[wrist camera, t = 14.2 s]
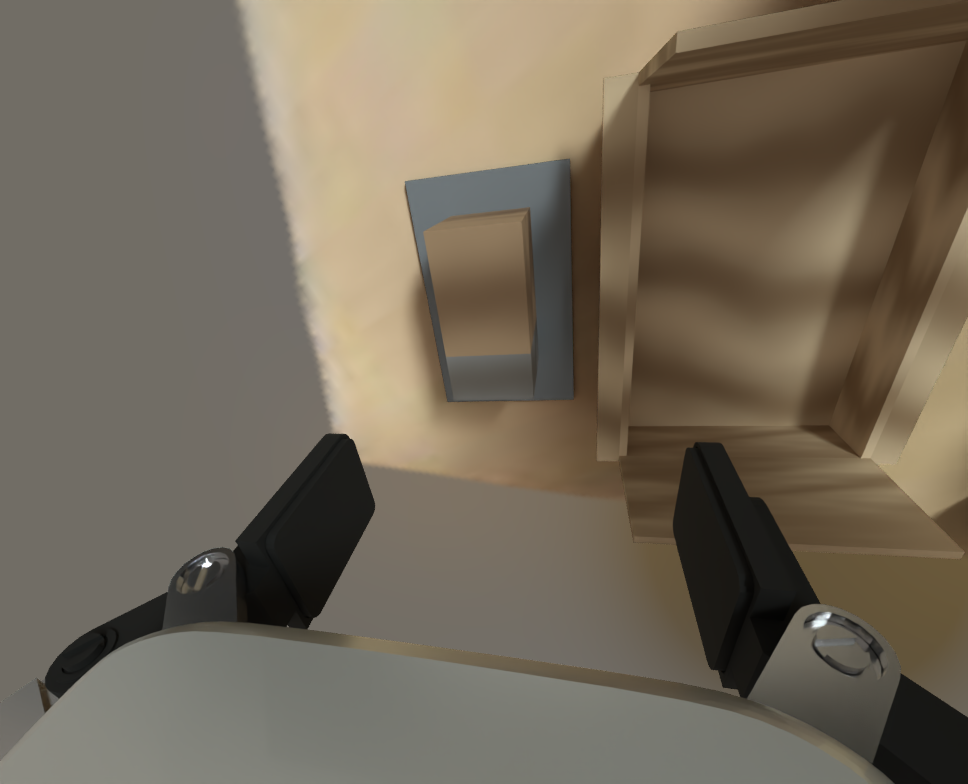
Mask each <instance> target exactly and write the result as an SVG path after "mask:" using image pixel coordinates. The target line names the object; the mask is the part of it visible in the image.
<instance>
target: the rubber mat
mask: <svg viewBox="0 0 968 784" xmlns="http://www.w3.org/2000/svg"><path fill="white" fill-rule="evenodd" d="M405 185H406V190H407V195H408V201H409V206H410V211H411V216H412V221H413V226H414V231H415V237H416V242H417V247H418V252H419V257H420V262H421V268H422V273H423V278H424V283H425V288H426V293H427V298H428V304H429V309H430V314H431V319H432V324H433V329H434V334H435V340H436V345H437V350H438V355H439V360H440V365H441V370H442V376H443V381H444V386H445V391H446V396H447V401H448V402H466V401H522V400H574V391H573V327H572V263H571V199H570V159H564V160H557V161H549V162H542V163H535V164H528V165H520V166H513V167H506V168H499V169H491V170H484V171H477V172H469V173H462V174H455V175H448V176H440V177H433V178H426V179H419V180H411V181H405ZM527 207H530V213H531V231H532V248H533V265H534V282H535V299H536V316H537V333H538V351H539V359H538V368H537V376H536V385H535V393H534V399H501V400H454V398H453V393H452V387H451V382H450V376H449V371H448V365H447V360H446V354H445V349H444V343H443V338H442V332H441V327H440V321H439V316H438V311H437V305H436V300H435V294H434V289H433V283H432V278H431V272H430V267H429V261H428V256H427V250H426V245H425V239H424V234H423V232H424V231H425V230H427V229H429V228H431V227H433V226H434V225H436V224H438V223H440V222H441V221H443V220H445V219H447V218H449V217H450V216H457V215H465V214H474V213H483V212H492V211H501V210H510V209H519V208H527Z"/></svg>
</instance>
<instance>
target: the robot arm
mask: <svg viewBox="0 0 968 784" xmlns="http://www.w3.org/2000/svg"><path fill="white" fill-rule="evenodd" d="M374 510H375V502H374V499H373V496H372V493H371V490H370V487H369V484H368V481H367V478H366V475H365V472H364V469H363V466H362V463H361V460H360V457H359V455H358V452H357V449H356V446H355V443H354V441H353V440H352V439H350V438H349V436H348V435H346V434H326V435H325V436H324V437H323V438H322V439H321V440H320V441H319V442H318V444H317V445H316V446H315V447H314V448H313V450H312V451H311V452H310V453H309V454H308V456H307V457H306V458H305V459H304V460H303V461H302V463H301V464H300V465H299V466H298V467H297V469H296V470H295V471H294V472H293V473H292V474H291V476H290V477H289V478H288V479H287V480H286V482H285V483H284V484H283V485H282V486H281V488H280V489H279V490H278V491H277V492H276V493H275V495H274V496H273V497H272V498H271V499H270V501H269V502H268V503H267V504H266V505H265V506H264V508H263V509H262V510H261V511H260V512H259V513H258V515H257V516H256V517H255V518H254V519H253V521H252V522H251V523H250V524H249V525H248V526H247V528H246V529H245V530H244V531H243V533H242V534H241V535H240V536H239V537H238V539H237V540H236V543H237V544H238V546H237V547H236V548H235V550H234V551H232V550H231V549H229V548H224V547H221V548H213V549H210V550H207V551H204V552H202V553H200V554H198V555H197V556H195V557H193V558H192V559H190V560H189V561H188V562H186V563H185V564H184V565H183V566H182V567H181V568H180V569H179V570H178V571H177V572H176V573H175V575H174V576H173V578H172V579H171V582H170V585H169V587H168V592H166V593H165V594H162V595H161V596H159V597H156V598H154V599H152V600H151V601H149V602H147V603H145V604H143V605H141V606H139V607H137V608H135V609H133V610H131V611H129V612H127V613H125V614H123V615H121V616H119V617H117V618H115V619H113V620H111V621H109V622H107V623H105V624H103V625H101V626H99V627H97V628H95V629H93V630H91V631H89V632H88V633H86V634H84V635H83V636H81V637H79V638H78V639H77V640H75V641H74V642H73V643H72V644H71V645H69V646H68V647H67V648H66V649H65V650H64V651H63V652H62V653H61V654H60V655H59V656H58V657H57V658H56V660H55V661H54V662H53V664H52V665H51V666H50V668H49V670H48V673H47V675H46V677H45V679H44V680H43V681H40V680H39V679H38V678H35V679H34V680H32V681H31V682H29V683H28V684H26V685H25V686H23V687H22V688H21V689H19V690H18V691H16V692H15V693H13V694H12V695H10V696H9V697H7V698H6V699H4V700H3V701H2V702H0V784H968V717H966V716H965V715H963V714H962V713H960V712H959V711H957V710H956V709H954V708H953V707H951V706H949V705H948V704H947V703H945V702H944V701H942V700H941V699H939V698H937V697H936V696H934V695H933V694H931V693H930V692H928V691H927V690H925V689H924V688H922V687H921V686H919V685H918V684H916V683H915V682H913V681H912V680H910V679H909V678H907V677H906V676H904V675H902V674H901V673H900V672H901V671H900V670H901V666H900V663H899V661H898V658H897V655H896V653H895V651H894V650H893V649H892V647H891V646H890V644H889V643H888V642H887V640H886V639H885V638H884V637H883V636H882V635H881V634H880V633H879V632H878V631H877V630H875V629H874V628H873V627H872V626H871V625H869V624H868V623H866V622H865V621H864V620H862V619H860V618H859V617H858V616H856V615H854V614H852V613H849V612H847V611H845V610H843V609H841V608H837V607H833V606H830V605H826V604H820V602H819V600H818V598H817V596H816V594H815V593H814V591H813V589H812V587H811V585H810V584H809V582H808V580H807V578H806V576H805V574H804V573H803V571H802V569H801V567H800V565H799V563H798V561H797V560H796V558H795V556H794V554H793V552H792V550H791V549H790V547H789V545H788V543H787V541H786V539H785V538H784V536H783V534H782V532H781V530H780V528H779V527H778V525H777V523H776V521H775V519H774V517H773V515H772V514H771V512H770V510H769V508H768V506H767V505H766V503H765V502H764V500H762V499H761V498H760V497H749V495H748V493H747V491H746V490H745V488H744V486H743V484H742V482H741V480H740V478H739V476H738V474H737V472H736V470H735V468H734V466H733V464H732V462H731V460H730V458H729V456H728V454H727V452H726V450H725V448H724V446H723V445H722V443H719V442H696V443H695V444H694V446H693V448H689V447H688V448H686V451H685V456H684V461H683V467H682V472H681V478H680V483H679V489H678V494H677V500H676V505H675V511H674V517H673V533H674V538H675V541H676V545H677V549H678V553H679V556H680V560H681V564H682V568H683V571H684V575H685V579H686V583H687V586H688V590H689V594H690V598H691V602H692V605H693V609H694V613H695V617H696V621H697V624H698V628H699V632H700V636H701V640H702V643H703V647H704V651H705V655H706V658H707V662H708V665H709V667H710V668H711V670H718V672H719V675H720V679H721V682H722V686H723V688H731V689H738V691H739V694H740V697H738V696H734V695H731V694H727V693H724V692H720V691H716V690H711V689H706V688H701V687H697V686H692V685H687V684H682V683H677V682H670V681H664V680H658V679H652V678H646V677H640V676H633V675H627V674H621V673H615V672H608V671H602V670H595V669H588V668H581V667H574V666H567V665H560V664H553V663H546V662H539V661H533V660H526V659H519V658H512V657H505V656H497V655H490V654H483V653H476V652H469V651H462V650H454V649H447V648H440V647H432V646H426V645H418V644H411V643H404V642H397V641H389V640H382V639H375V638H366V637H359V636H352V635H344V634H337V633H329V632H322V631H321V632H320V631H314V630H307V629H308V627H309V625H310V623H311V621H312V620H313V618H315V617H317V616H318V615H319V614H320V613H321V611H322V609H323V607H324V605H325V604H326V602H327V600H328V598H329V596H330V594H331V592H332V591H333V589H334V587H335V585H336V583H337V581H338V579H339V577H340V576H341V574H342V572H343V570H344V568H345V566H346V564H347V562H348V561H349V559H350V557H351V555H352V553H353V551H354V549H355V547H356V546H357V543H358V542H359V540H360V538H361V536H362V534H363V532H364V530H365V529H366V527H367V525H368V523H369V521H370V519H371V517H372V516H373V513H374ZM287 625H288V626H289V627H287ZM290 627H291V628H290Z"/></svg>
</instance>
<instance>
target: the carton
mask: <svg viewBox="0 0 968 784" xmlns="http://www.w3.org/2000/svg"><path fill="white" fill-rule="evenodd" d="M967 317H968V0H840V1H835V2H830V3H824V4H819V5H814V6H809V7H803V8H798V9H793V10H788V11H782V12H777V13H772V14H767V15H762V16H756V17H751V18H746V19H741V20H735V21H730V22H725V23H720V24H714V25H709V26H704V27H699V28H693V29H688V30H683V31H678V32H677V33H676V34H675V35H674V36H673V37H672V38H671V39H670V40H669V41H668V42H667V43H666V44H665V45H664V46H663V48H662V49H661V50H660V51H659V52H658V53H657V54H656V55H655V56H654V57H653V58H652V59H651V60H650V61H649V62H648V63H647V65H646V66H645V67H644V68H643V69H642V70H641V71H640V72H637V73H632V74H626V75H620V76H615V77H609V78H604V79H603V130H602V185H601V240H600V295H599V350H598V405H597V461H619V465H620V471H621V476H622V482H623V487H624V493H625V498H626V504H627V509H628V515H629V520H630V526H631V531H632V537H633V542H634V543H653V544H673V545H676V541H675V538H674V533H673V517H674V511H675V505H676V500H677V494H678V489H679V483H680V478H681V472H682V467H683V461H684V456H685V451H686V448H688V447H689V448H693V446H694V444H695V443H696V442H719V443H722V445H723V446H724V448H725V450H726V452H727V454H728V456H729V458H730V460H731V462H732V464H733V466H734V468H735V470H736V472H737V474H738V476H739V478H740V480H741V482H742V484H743V486H744V488H745V490H746V491H747V493H748V495H749V497H760V498H761V499H762V500H764V502H765V503H766V505H767V506H768V508H769V510H770V512H771V514H772V515H773V517H774V519H775V521H776V523H777V525H778V527H779V528H780V530H781V532H782V534H783V536H784V538H785V539H786V541H787V543H788V545H789V547H790V549H791V550H792V551H809V552H830V553H849V554H870V555H887V556H888V555H889V556H907V557H927V558H928V557H929V558H946V559H961V558H962V556H963V555H964V553H965V552H964V551H963V550H962V549H961V548H960V547H959V546H958V545H957V544H956V543H955V542H954V541H953V540H952V539H951V538H950V537H949V536H948V535H947V534H946V533H945V532H944V531H943V530H942V529H941V528H940V527H939V526H938V525H937V524H936V523H935V522H934V521H933V520H932V519H931V518H930V517H929V516H928V515H927V514H926V513H925V512H924V511H923V510H922V509H921V508H920V507H919V506H918V505H917V504H916V503H915V502H914V501H913V500H912V499H911V498H910V497H909V496H908V495H907V494H906V493H905V492H904V491H903V490H902V489H901V488H900V487H899V486H898V485H897V484H896V483H895V482H894V481H893V480H892V479H891V478H890V477H889V476H888V475H887V474H886V473H885V472H884V471H883V470H882V469H881V468H880V467H879V466H878V465H896V464H897V462H898V460H899V458H900V455H901V453H902V451H903V449H904V447H905V445H906V443H907V441H908V439H909V437H910V435H911V433H912V431H913V429H914V427H915V424H916V422H917V420H918V418H919V416H920V414H921V412H922V410H923V408H924V406H925V404H926V402H927V400H928V398H929V396H930V394H931V391H932V389H933V387H934V385H935V383H936V381H937V379H938V377H939V375H940V373H941V371H942V369H943V367H944V365H945V363H946V360H947V358H948V356H949V354H950V352H951V350H952V348H953V346H954V344H955V342H956V340H957V338H958V336H959V334H960V332H961V330H962V327H963V325H964V323H965V321H966V319H967Z"/></svg>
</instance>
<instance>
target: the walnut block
mask: <svg viewBox="0 0 968 784" xmlns="http://www.w3.org/2000/svg"><path fill="white" fill-rule="evenodd" d="M423 234H424V239H425V245H426V250H427V256H428V261H429V267H430V272H431V278H432V283H433V289H434V294H435V300H436V305H437V311H438V316H439V321H440V327H441V332H442V338H443V343H444V349H445V354H446V360H447V365H448V371H449V376H450V382H451V387H452V393H453V398H454V400H501V399H534V393H535V385H536V376H537V368H538V359H539V351H538V333H537V316H536V299H535V282H534V265H533V248H532V231H531V213H530V207H527V208H519V209H510V210H501V211H492V212H483V213H474V214H465V215H457V216H450V217H449V218H447V219H445V220H443V221H441V222H440V223H438V224H436V225H434V226H433V227H431V228H429V229H427V230H425V231H424V232H423Z"/></svg>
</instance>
